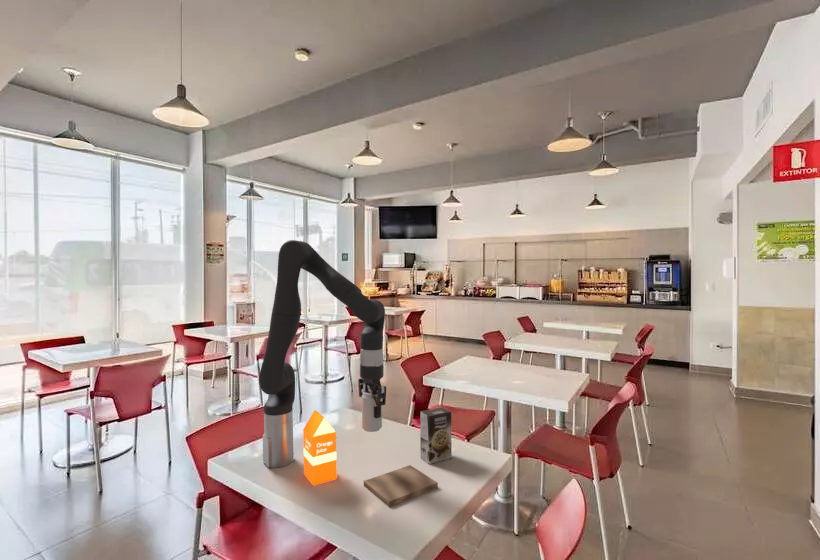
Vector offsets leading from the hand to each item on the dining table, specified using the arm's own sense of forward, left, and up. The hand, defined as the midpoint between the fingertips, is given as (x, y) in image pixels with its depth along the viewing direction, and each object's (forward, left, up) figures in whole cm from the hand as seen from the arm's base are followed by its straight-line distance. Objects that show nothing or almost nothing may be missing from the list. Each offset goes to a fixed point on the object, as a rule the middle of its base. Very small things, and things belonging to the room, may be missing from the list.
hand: (371, 414), depth 133 cm
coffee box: (+22, -5, -18) cm, 29 cm away
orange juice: (-15, +7, -18) cm, 25 cm away
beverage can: (0, 0, -5) cm, 5 cm away
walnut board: (+2, -14, -18) cm, 23 cm away
